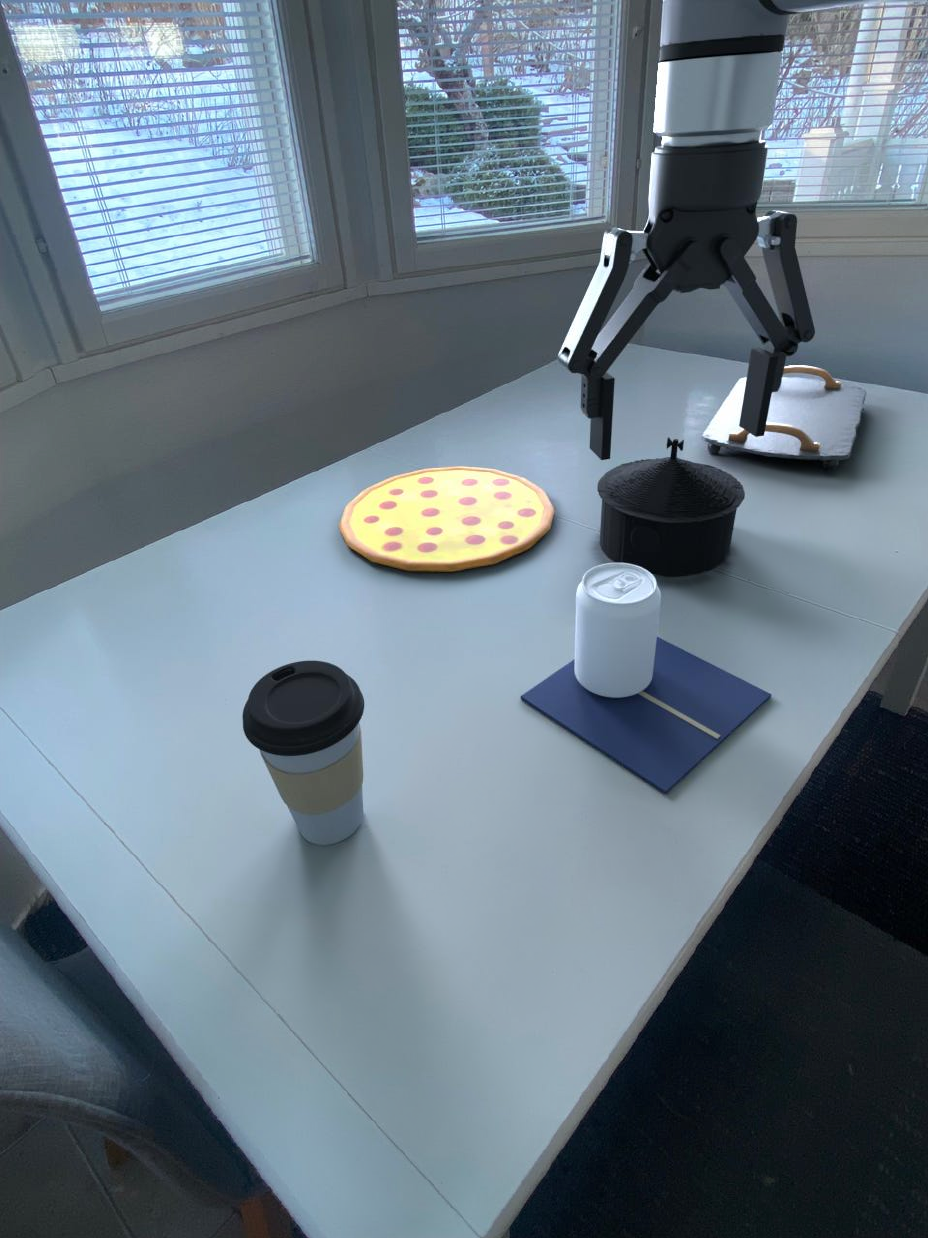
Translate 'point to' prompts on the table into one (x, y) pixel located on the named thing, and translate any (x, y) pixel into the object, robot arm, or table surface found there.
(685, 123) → the robot arm
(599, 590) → the beverage can
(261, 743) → the coffee cup
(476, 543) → the pizza
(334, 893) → the table surface
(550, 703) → the napkin
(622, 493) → the black round tub
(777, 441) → the serving tray
